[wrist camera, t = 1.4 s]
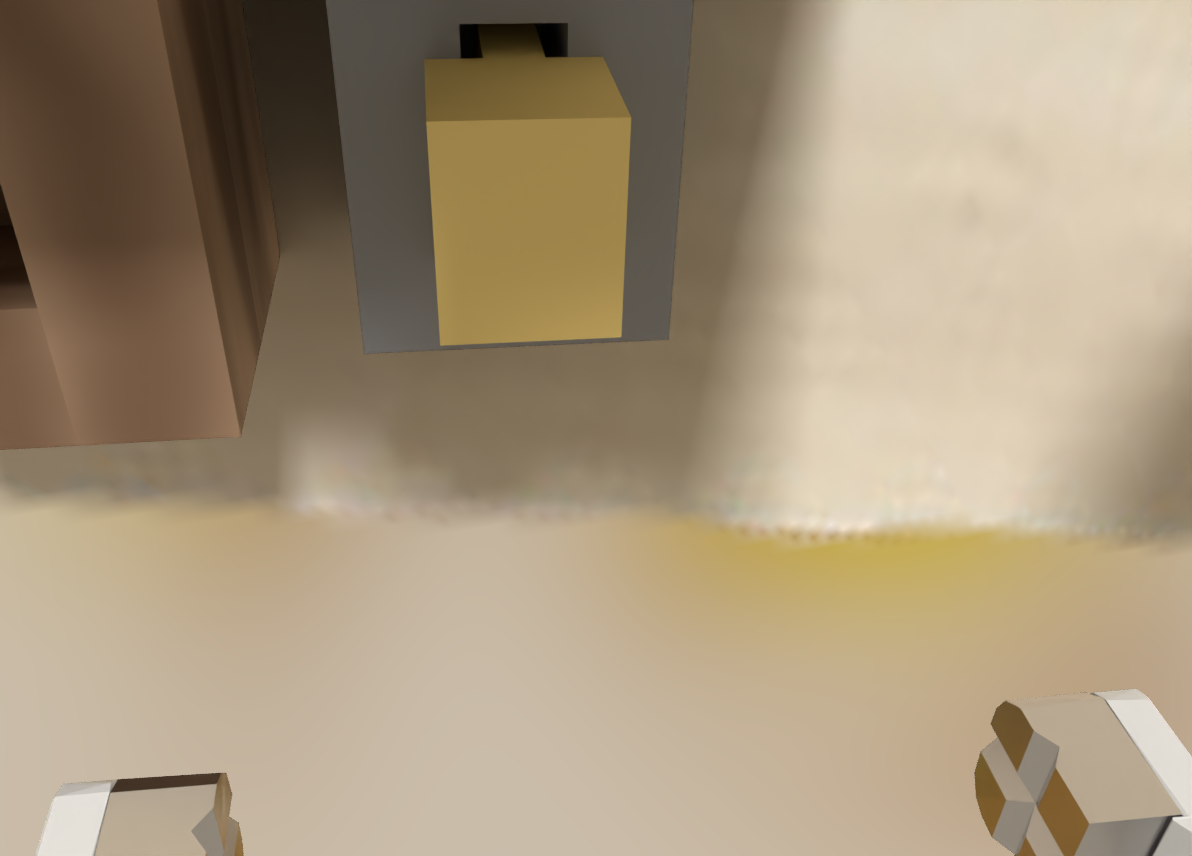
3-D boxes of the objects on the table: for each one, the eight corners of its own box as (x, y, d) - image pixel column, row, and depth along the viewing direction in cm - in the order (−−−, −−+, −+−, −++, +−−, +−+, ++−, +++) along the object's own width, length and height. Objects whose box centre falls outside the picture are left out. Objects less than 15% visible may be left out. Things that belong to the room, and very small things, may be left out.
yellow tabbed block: (581, 10, 28) (631, 117, 22) (577, 194, 31) (621, 337, 25) (422, 11, 28) (426, 121, 21) (434, 198, 31) (440, 345, 24)
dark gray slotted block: (637, -124, 30) (698, -62, 24) (622, 215, 36) (668, 339, 30) (339, -126, 29) (319, -62, 23) (372, 223, 35) (363, 353, 29)
